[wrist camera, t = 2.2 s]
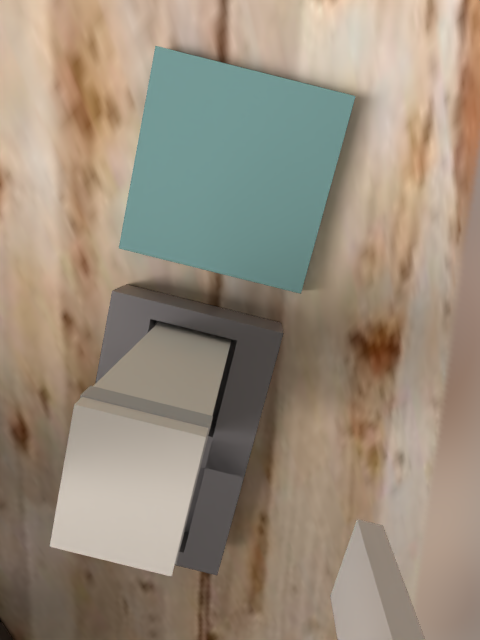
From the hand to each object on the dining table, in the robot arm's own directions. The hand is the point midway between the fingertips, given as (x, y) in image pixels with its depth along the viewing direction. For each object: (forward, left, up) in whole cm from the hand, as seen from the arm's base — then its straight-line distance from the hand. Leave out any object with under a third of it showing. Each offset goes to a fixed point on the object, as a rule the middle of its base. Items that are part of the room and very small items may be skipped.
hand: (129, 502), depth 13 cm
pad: (+11, 0, -13) cm, 17 cm away
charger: (0, 0, -13) cm, 13 cm away
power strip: (-4, 0, -13) cm, 14 cm away
